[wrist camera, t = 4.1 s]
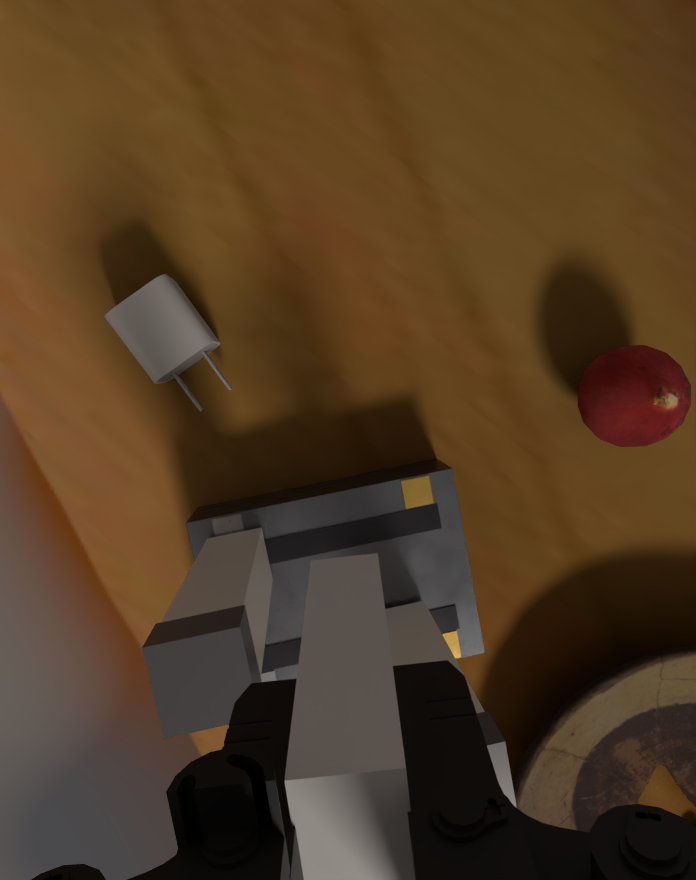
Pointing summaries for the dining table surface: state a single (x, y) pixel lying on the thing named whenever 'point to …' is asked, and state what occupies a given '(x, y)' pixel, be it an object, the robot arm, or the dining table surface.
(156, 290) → the usb wall charger
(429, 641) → the white capped post
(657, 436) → the onion
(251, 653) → the grey square post
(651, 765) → the broken bowl
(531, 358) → the dining table surface
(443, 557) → the console
